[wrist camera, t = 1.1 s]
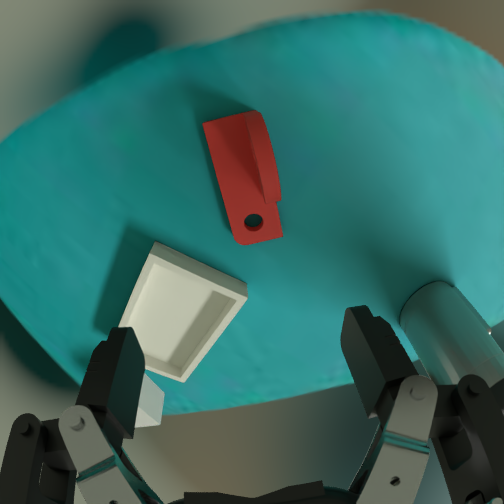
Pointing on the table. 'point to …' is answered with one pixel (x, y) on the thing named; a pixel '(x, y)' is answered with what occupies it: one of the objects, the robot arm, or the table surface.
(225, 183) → the bracket
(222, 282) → the holder tray
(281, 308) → the table surface
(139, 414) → the white cube
